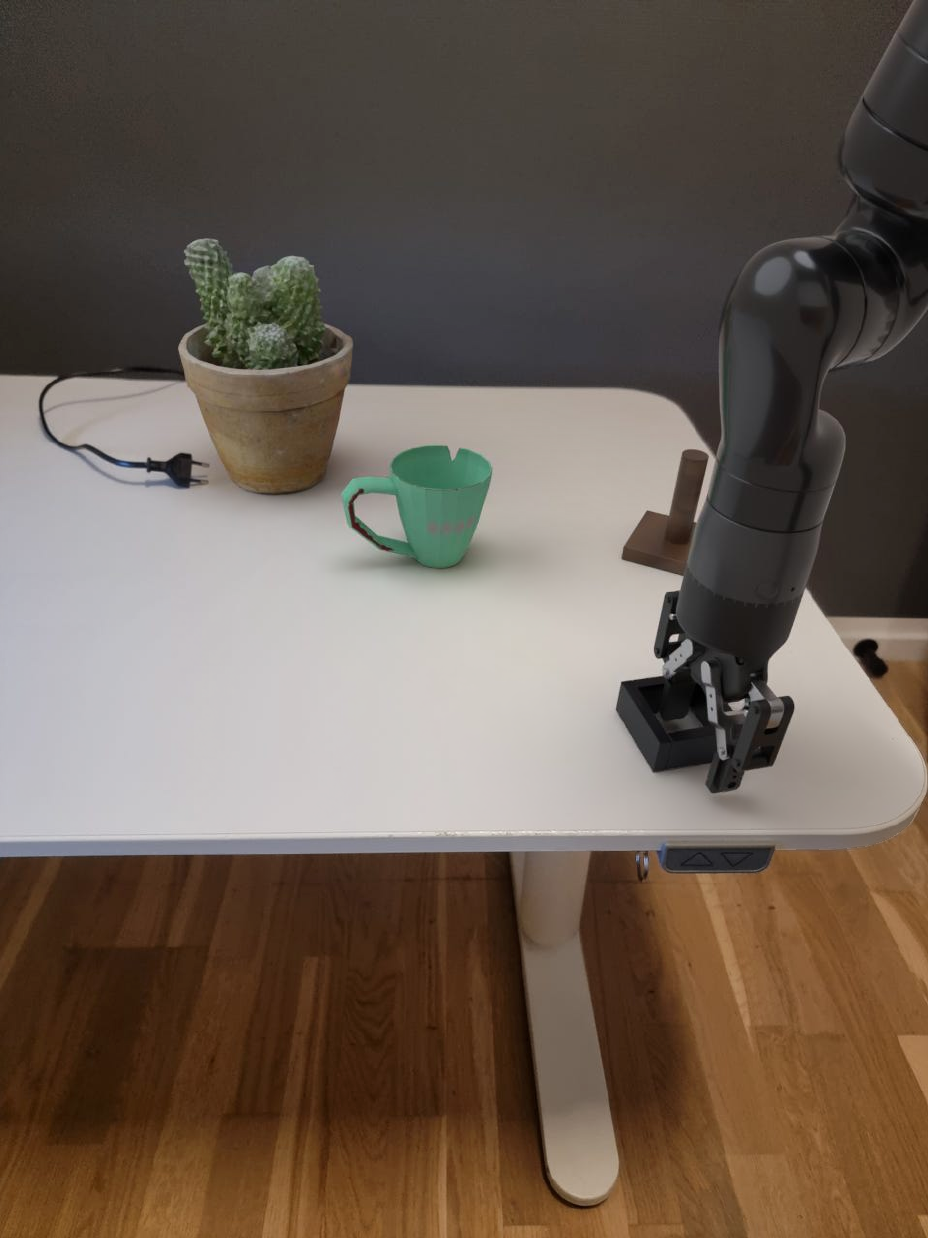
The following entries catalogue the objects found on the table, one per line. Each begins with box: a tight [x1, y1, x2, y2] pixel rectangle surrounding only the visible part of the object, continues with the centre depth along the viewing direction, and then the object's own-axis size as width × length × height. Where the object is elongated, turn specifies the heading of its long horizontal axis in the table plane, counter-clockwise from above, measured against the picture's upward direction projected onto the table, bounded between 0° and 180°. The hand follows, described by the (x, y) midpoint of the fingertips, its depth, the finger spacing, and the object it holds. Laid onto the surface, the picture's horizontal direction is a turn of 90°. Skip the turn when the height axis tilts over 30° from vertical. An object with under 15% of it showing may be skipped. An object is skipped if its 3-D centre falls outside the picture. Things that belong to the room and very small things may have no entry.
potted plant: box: [177, 238, 354, 495], centre depth 94 cm, size 18×19×25 cm
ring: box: [615, 675, 741, 773], centre depth 67 cm, size 7×7×3 cm
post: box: [621, 448, 710, 576], centre depth 88 cm, size 9×9×11 cm
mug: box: [340, 444, 493, 569], centre depth 85 cm, size 15×10×10 cm
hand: (694, 750), depth 65 cm, fingers open, 7 cm apart
